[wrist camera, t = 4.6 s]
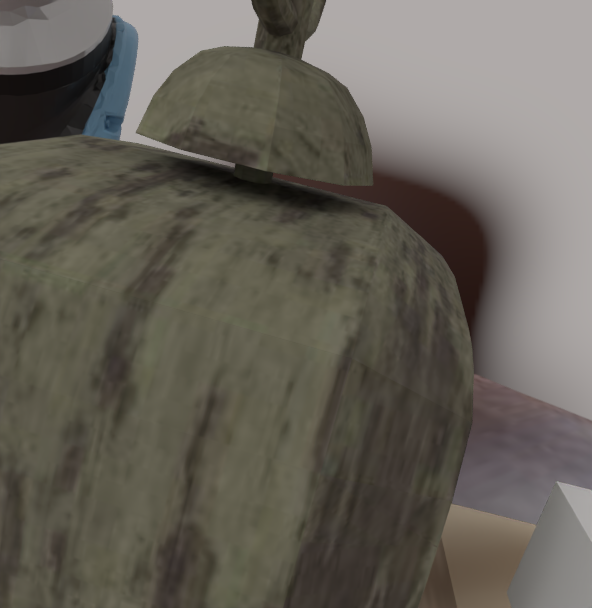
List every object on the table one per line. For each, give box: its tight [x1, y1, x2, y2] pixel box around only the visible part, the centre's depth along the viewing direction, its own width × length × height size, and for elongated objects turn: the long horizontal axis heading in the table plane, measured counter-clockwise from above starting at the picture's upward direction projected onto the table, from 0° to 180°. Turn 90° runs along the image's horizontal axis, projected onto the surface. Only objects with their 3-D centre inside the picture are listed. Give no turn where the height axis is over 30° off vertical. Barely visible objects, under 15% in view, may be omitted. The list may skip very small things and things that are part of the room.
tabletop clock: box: [0, 0, 474, 608], centre depth 14 cm, size 14×9×25 cm, turn 170°
